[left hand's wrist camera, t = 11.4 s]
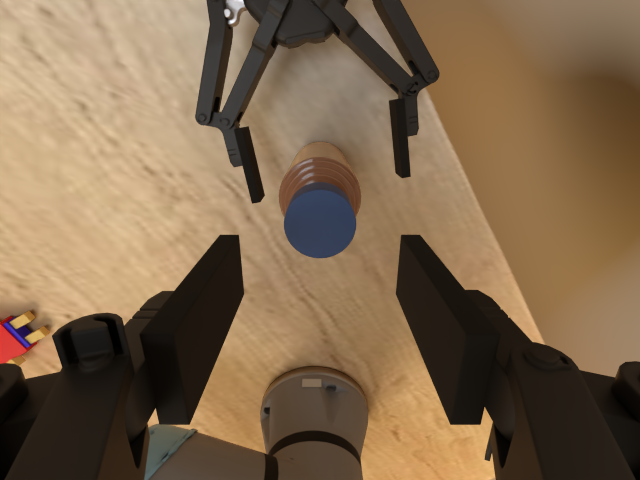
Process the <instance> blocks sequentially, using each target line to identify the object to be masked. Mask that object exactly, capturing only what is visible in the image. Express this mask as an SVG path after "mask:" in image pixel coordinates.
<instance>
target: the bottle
mask: <svg viewBox="0 0 640 480" xmlns="http://www.w3.org/2000/svg"><path fill="white" fill-rule="evenodd" d="M314 182H326V183H330V184H333V185H335V186H337V187H339V188H340V189H341V190H342V191H343V192H344V193H345V194H346V195H347V196H348V198H349V200H350V202H351V205H352V208H353V211H354V214H355V217H356V215H357V213H358V211H359V208H360V203H361V191H360V186H359V183H358V181H357V179H356V177H355V175H354V173H353V171H352V170H351V168H350V166H349V164H348V162H347V161H346V159H345V157H344V155H343V154H342V152H341V151H340V150H339V149H338V148H337V147H335V146H334V145H332V144H330V143H327V142H313V143H310V144H308V145H306V146H305V147H303V148H302V149H301V150H300V151H299V152H298V154H297V155H296V157H295V159H294V161H293V162H292V164H291V166H290V168H289V170H288V172H287V173H286V175H285V177H284V179H283V181H282V183H281V186H280V191H279V203H280V208H281V211H282V213H283V215H284V217H285V214H286V211H287V208H288V205H289V202H290V200H291V198H292V196H293V195H294V194H295V193H296V192H297V191H298V190H299V189H300V188H301V187H303V186H305V185H307V184H310V183H314Z"/></svg>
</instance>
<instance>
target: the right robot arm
mask: <svg viewBox="0 0 640 480" xmlns="http://www.w3.org/2000/svg"><path fill="white" fill-rule="evenodd" d="M347 1H348V0H207V6H208V13H209V20H210V28H209V34H208V40H207V47H206V53H205V59H204V65H203V71H202V78H201V84H200V90H199V96H198V103H197V109H196V115H195V118H196V121H197V122H198V123H199V124H200V125H207V126H212V127H216V128H218V129H220V130H221V131H222V133H223V136H224V140H225V144H226V147H227V151H228V155H229V159H230V162H231V164H232V165H233V167H238V166H243V169H244V173H245V177H246V181H247V185H248V189H249V193H250V197H251V201H252V203H258V202H261V200H262V199H263V197H264V196H265V194H264V190H263V186H262V182H261V177H260V173H259V169H258V164H257V160H256V156H255V152H254V147H253V143H252V139H251V135H250V130H249V126H248V127H243V128H239V126H240V124H239V123H240V120H241V118H242V116H243V114H244V112H245V110H246V108H247V106H248V104H249V102H250V100H251V97H252V95H253V93H254V91H255V89H256V87H257V85H258V83H259V81H260V79H261V77H262V74H263V72H264V70H265V68H266V66H267V64H268V62H269V60H270V58H271V57H272V56H273V54H274V52H275V50H276V48H277V46H278V44H280V45H281V46H284V47H288V49H290V48H295V47H298V46H300V45H302V44H304V43H321V42H325V40H326V39H328V38H329V37H330V36H331V35H332V34H333V33H334V34H335V35H336V36H337V37H338V38H339V39H340V40H341V41H342V42H343V43H345V44H346V45H348V46H349V47H350V48H351V49H352V50H353V51H354V52H355V53H356V54H357V55H358V56H359V57H360V58H361V59H362V60H363V61H364V62H365V63H366V64H367V65H368V66H369V67H370V68H371V69H372V70H373V71H374V72H375V73H376V74H377V75H378V76H379V77H380V78H381V79H382V80H383V81H384V82H385V83H386V84H387V85H388V86H390V87H391V88H392V89H393V90H394V91H395V92H396V93H397V94H398V99H395V100H390V101H389V106H390V117H391V128H392V139H393V149H394V160H395V171H396V174H398V175H399V176H400V177H401V178H405V177H411V175H410V162H409V150H408V137H407V136H413V135H417V132H418V129H419V126H418V110H417V95H418V93H419V91H420V90H421V89H423V88H425V87H426V86H428V85H430V84H431V83H434V82H436V81H437V80H438V78H439V70H438V68H437V66H436V65H435V63H434V61H433V59H432V57H431V55H430V54H429V52H428V50H427V48H426V46H425V45H424V43H423V41H422V39H421V37H420V35H419V34H418V32H417V30H416V28H415V26H414V25H413V23H412V21H411V19H410V17H409V15H408V14H407V12H406V10H405V8H404V6H403V5H402V3H401V1H400V0H372V1H373V4H374V7H375V9H376V11H377V13H378V15H379V16H380V18H381V20H382V22H383V23H384V25H385V27H386V29H387V30H388V32H389V34H390V36H391V37H392V39H393V41H394V43H395V44H396V46H397V48H398V49H399V51H400V53H401V55H402V56H403V58H404V60H405V62H406V63H407V65H408V67H409V69H410V70H411V72H412V74H413V76H412V77H410V76H409V75H408V73H407V72H406V71H405V70H404V69H403V68H402V67H401V66H400V65H399V64H398V63H397V62H396V61H395V60H394V59H393V58H392V57H391V56H390V55H389V54H388V53H387V52H386V51H385V50H384V49H383V48H382V47H381V46H380V45H379V44H378V43H377V42H376V41H375V40H374V39H373V38H372V37H371V36H370V35H369V34H368V33H367V32H366V31H365V30H364V29H363V28H362V27H361V26H360V25H359V24H358V22H357V20H356V19H355V18H354V17H353V16H352V15H351V14H350V13H349V12H348V11H347V10H346V9H345V8H344V7H345V5H346V3H347ZM246 10H248V12H249V13H250V14H251V15H252V17H253V18H254V19H255V20H256V21H257V22H258V23H259V24H260V25H259V27H258V30H257V32H256V34H255V36H254V39H253V41H252V46H251V49H250V51H249V53H248V55H247V58H246V60H245V62H244V64H243V66H242V69H241V71H240V73H239V75H238V77H237V80H236V82H235V84H234V86H233V88H232V91H231V93H230V95H229V97H228V99H227V102H226V104H225V106H224V108H223V110H222V112H219V110H220V105H221V99H222V94H223V88H224V83H225V77H226V72H227V66H228V61H229V56H230V50H231V45H232V38H233V27H235V26H237V25H238V24H239V21H240V15H241V13H242V12H243V11H246Z"/></svg>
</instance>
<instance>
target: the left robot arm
mask: <svg viewBox="0 0 640 480" xmlns="http://www.w3.org/2000/svg"><path fill="white" fill-rule="evenodd" d="M243 295H244V287H243V276H242V265H241V254H240V243H239V235H220V236H219V237H218V238H217V239H216V241H215V242H214V243H213V244H212V245H211V247H210V248H209V249H208V250H207V252H206V253H205V254H204V255H203V256H202V258H201V259H200V260H199V261H198V263H197V264H196V265H195V266H194V267H193V269H192V270H191V271H190V272H189V274H188V275H187V276H186V277H185V279H184V280H183V281H182V282H181V283H180V285H179V286H178V287H177V288H176V290H175V291H162V292H160V293H158V294H157V295H155V296H153V297H152V298H150V299H148V300H147V302H146V303H145V304H144V305H143V306H142V307H141V308H140V311H137V312H136V314H135V315H134V316H133V317H132V319H130V320H129V321H128V322H127V323H126V324H125V326H124V324H123V320H122V318H121V317H120V316H118V315H117V314H112V313H99V314H93V315H88V316H84V317H81V318H79V319H76V320H74V321H71V322H69V323H67V324H66V325H64V326H63V327H61V328H59V329H58V330H57V331H56V332H55V333H54V334H53V335H52V337H53V340H54V343H55V346H56V349H57V352H58V355H59V358H60V361H61V364H62V369H61V371H60V372H57V373H53V374H48V375H43V376H38V377H33V378H28V379H25V377H24V374H23V372H22V369H21V367H19V366H18V365H16V364H12V363H1V364H0V480H363V476H362V468H361V459H360V457H361V452H362V448H363V443H364V439H365V434H366V429H367V425H368V408H367V402H366V398H365V395H364V393H363V391H362V389H361V388H360V386H359V385H358V384H357V383H356V382H355V381H354V380H353V379H351V378H350V377H349V376H347V375H345V374H343V373H341V372H339V371H336V370H333V369H329V368H324V367H304V368H299V369H295V370H292V371H290V372H287V373H285V374H283V375H282V376H280V377H279V378H277V379H276V380H275V381H274V382H273V383H272V384H271V385H270V386H269V387H268V389H267V390H266V392H265V395H264V397H263V402H262V407H261V426H262V432H263V438H264V443H265V449H266V454H265V453H262V452H259V451H255V450H252V449H248V448H245V447H242V446H239V445H236V444H233V443H230V442H226V441H223V440H220V439H217V438H214V437H211V436H207V435H204V434H201V433H198V432H197V431H198V430H196V429H191V430H188V429H184V428H180V427H176V426H172V425H190V422H191V420H192V418H193V415H194V413H195V410H196V408H197V406H198V403H199V401H200V398H201V396H202V394H203V391H204V389H205V386H206V384H207V382H208V379H209V377H210V374H211V372H212V370H213V367H214V365H215V362H216V360H217V358H218V355H219V353H220V351H221V348H222V346H223V343H224V341H225V339H226V336H227V334H228V331H229V329H230V327H231V324H232V322H233V319H234V317H235V315H236V312H237V310H238V307H239V305H240V303H241V300H242V298H243ZM396 295H397V298H398V300H399V303H400V305H401V307H402V310H403V312H404V315H405V317H406V319H407V322H408V324H409V327H410V329H411V331H412V334H413V336H414V339H415V341H416V343H417V346H418V348H419V351H420V353H421V355H422V358H423V360H424V363H425V365H426V367H427V370H428V372H429V374H430V377H431V379H432V382H433V384H434V386H435V389H436V391H437V394H438V396H439V398H440V401H441V403H442V406H443V408H444V410H445V413H446V415H447V418H448V420H449V422H450V425H480V424H481V420H482V415H483V411H484V407H485V408H486V410H487V412H488V413H489V415H490V417H491V419H492V421H493V424H492V428H491V432H490V436H489V441H488V445H487V449H486V454H485V460H487V461H490V458H491V454H492V455H493V462H494V470H495V477H496V480H640V362H637V361H634V362H625V363H623V364H622V365H621V366H620V367H619V369H618V372H617V374H616V377H610V376H605V375H600V374H595V373H590V372H585V371H581V370H579V369H578V367H577V366H576V364H575V363H574V362H573V361H572V359H571V358H569V357H568V356H566V355H565V354H564V353H562V352H561V351H558V350H556V349H554V348H552V347H550V346H547V345H543V344H540V343H536V342H532V341H531V340H530V339H529V338H528V337H527V336H526V335H525V334H524V333H523V331H522V330H521V329H520V328H519V327H518V326H517V325H516V324H515V323H514V322H513V321H512V320H511V318H508V315H507V314H506V313H505V312H504V311H503V310H501V309H500V307H499V306H498V304H497V303H496V302H495V301H494V300H493V299H492V298H491V297H489V296H487V295H485V294H484V293H482V292H480V291H479V290H464V288H463V287H462V286H461V285H460V283H459V282H458V281H457V280H456V279H455V277H454V276H453V275H452V274H451V272H450V271H449V270H448V269H447V267H446V266H445V265H444V264H443V263H442V261H441V260H440V259H439V258H438V256H437V255H436V254H435V253H434V252H433V250H432V249H431V248H430V247H429V245H428V244H427V243H426V242H425V241H424V239H423V238H422V237H421V236H420V235H401V243H400V254H399V265H398V276H397V287H396ZM155 408H156V411H157V416H158V420H159V424H155V425H153V426H151V427H149V428H148V424H147V422H148V421H149V419H150V417H151V415H152V413H153V412H154V410H155Z"/></svg>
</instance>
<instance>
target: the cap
mask: <svg viewBox="0 0 640 480" xmlns="http://www.w3.org/2000/svg"><path fill="white" fill-rule="evenodd" d="M284 229H285V234H286V236H287V239H288V240H289V242H290V244H291V245H292V246H293V247H294V248H295V249H296V250H297V251H299V252H300V253H302V254H304V255H306V256H309V257H313V258H327V257H331V256H334V255H336V254H338V253H340V252H341V251H343V250H344V249H345V248H346V247H347V246H348V245H349V244H350V242H351V241H352V239H353V237H354V234H355V230H356V218H355V214H354V211H353V208H352V205H351V202H350V200H349V198H348V196H347V195H346V194H345V193H344V192H343V191H342V190H341V189H340V188H339V187H337V186H335V185H333V184H330V183H326V182H314V183H310V184H307V185H305V186H303V187H301V188H300V189H299V190H298V191H297V192H296V193H295V194H294V195H293V196H292V198H291V200H290V202H289V205H288V208H287V211H286V214H285V218H284Z"/></svg>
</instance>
